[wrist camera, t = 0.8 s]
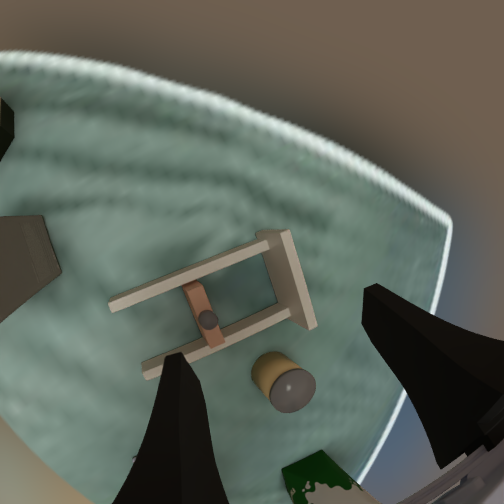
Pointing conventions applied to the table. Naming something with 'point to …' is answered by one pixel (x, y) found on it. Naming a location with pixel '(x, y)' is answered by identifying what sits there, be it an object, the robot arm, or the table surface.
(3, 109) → the wine bottle
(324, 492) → the milk carton
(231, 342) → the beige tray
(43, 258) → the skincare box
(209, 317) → the pusher
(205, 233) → the table surface
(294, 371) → the jar
